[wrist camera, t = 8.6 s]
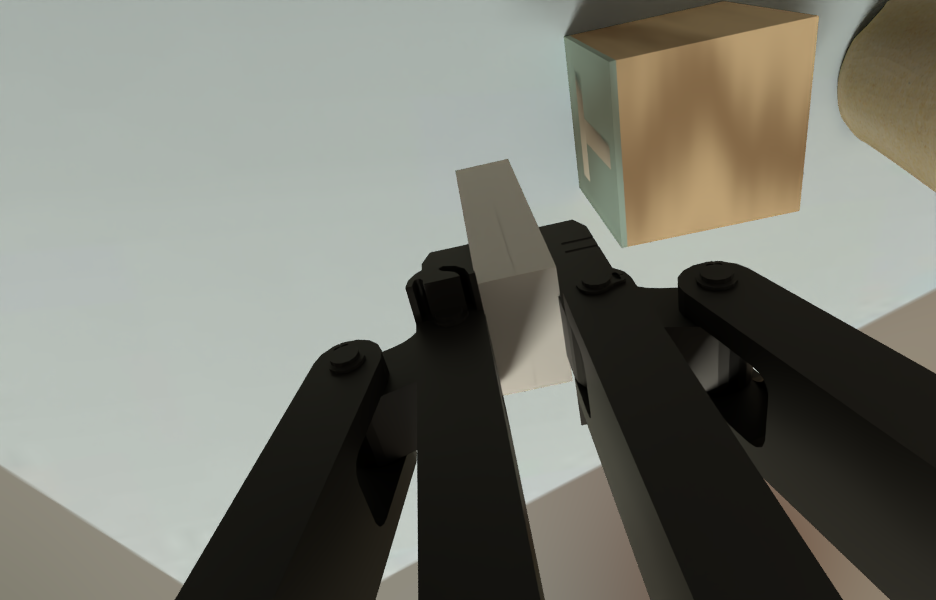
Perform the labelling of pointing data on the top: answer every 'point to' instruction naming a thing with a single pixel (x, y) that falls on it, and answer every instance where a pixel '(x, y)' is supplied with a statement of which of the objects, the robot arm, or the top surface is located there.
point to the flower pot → (895, 86)
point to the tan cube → (692, 118)
